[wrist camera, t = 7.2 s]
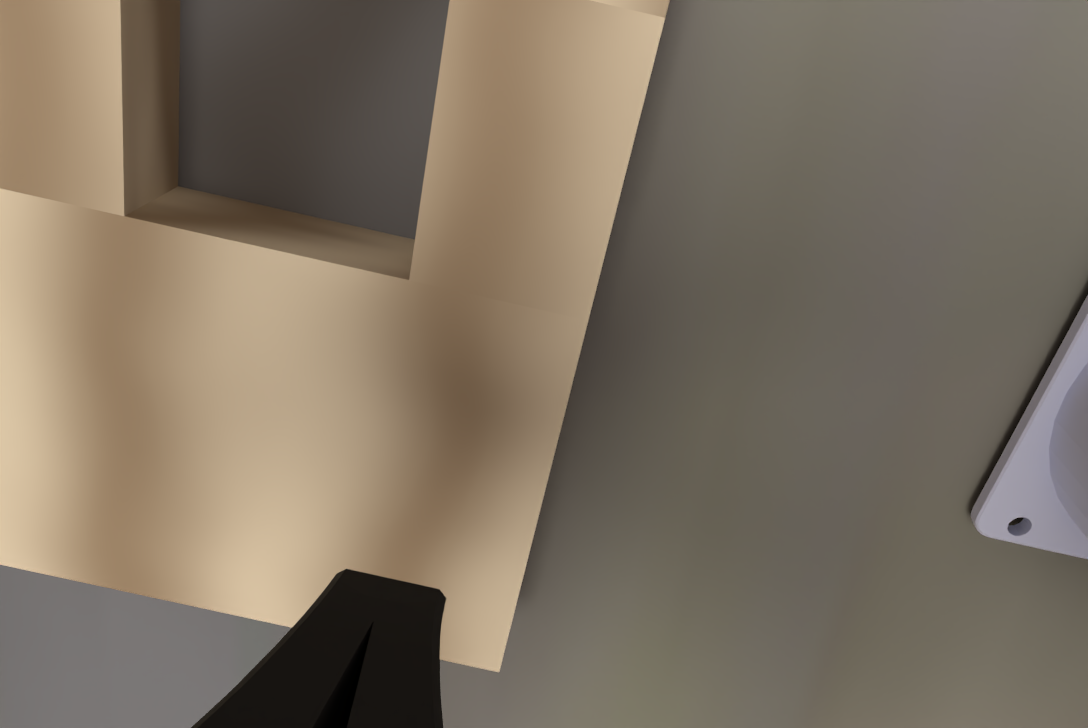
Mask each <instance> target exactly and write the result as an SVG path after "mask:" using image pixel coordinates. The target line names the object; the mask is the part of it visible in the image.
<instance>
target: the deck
mask: <svg viewBox="0 0 1088 728" xmlns="http://www.w3.org/2000/svg"><path fill="white" fill-rule="evenodd" d="M669 1H670V0H0V565H5V566H10V567H14V568H19V569H23V570H28V571H33V572H37V573H42V574H47V575H51V576H56V577H61V578H65V579H70V580H74V581H79V582H84V583H88V584H93V585H98V586H102V587H107V588H111V589H116V590H121V591H125V592H130V593H135V594H139V595H144V596H148V597H153V598H158V599H162V600H167V601H172V602H176V603H181V604H185V605H190V606H195V607H199V608H204V609H209V610H213V611H218V612H222V613H227V614H232V615H236V616H241V617H246V618H250V619H255V620H259V621H264V622H269V623H273V624H278V625H283V626H287V627H293V626H294V625H295V624H296V623H297V622H298V621H299V619H300V618H301V617H302V616H303V615H304V614H305V613H306V611H307V610H308V609H309V608H310V607H311V606H312V604H313V603H314V602H315V601H316V599H317V598H318V597H319V596H320V595H321V593H322V592H323V591H324V590H325V588H326V587H327V586H328V584H329V583H330V582H331V580H332V579H333V578H334V576H335V575H336V574H337V573H339V572H341V571H343V570H345V569H350V570H354V571H359V572H364V573H368V574H373V575H377V576H382V577H386V578H391V579H396V580H400V581H405V582H409V583H414V584H418V585H423V586H428V587H432V588H437V589H440V590H441V592H442V593H443V594H444V596H445V597H446V602H445V607H444V612H443V617H442V623H441V634H440V660H445V661H449V662H454V663H458V664H463V665H468V666H472V667H477V668H482V669H486V670H491V671H495V672H499V671H500V667H501V663H502V659H503V655H504V651H505V647H506V643H507V639H508V635H509V631H510V627H511V623H512V619H513V616H514V612H515V608H516V604H517V600H518V596H519V592H520V588H521V584H522V580H523V576H524V572H525V568H526V564H527V560H528V556H529V552H530V549H531V545H532V541H533V537H534V533H535V529H536V525H537V521H538V517H539V513H540V509H541V505H542V501H543V497H544V493H545V489H546V486H547V482H548V478H549V474H550V470H551V466H552V462H553V458H554V454H555V450H556V446H557V442H558V438H559V434H560V430H561V426H562V422H563V419H564V415H565V411H566V407H567V403H568V399H569V395H570V391H571V387H572V383H573V379H574V375H575V371H576V367H577V363H578V359H579V356H580V352H581V348H582V344H583V340H584V336H585V332H586V328H587V324H588V320H589V316H590V312H591V308H592V304H593V300H594V296H595V293H596V289H597V285H598V281H599V277H600V273H601V269H602V265H603V261H604V257H605V253H606V249H607V245H608V241H609V237H610V233H611V229H612V226H613V222H614V218H615V214H616V210H617V206H618V202H619V198H620V194H621V190H622V186H623V182H624V178H625V174H626V170H627V166H628V163H629V159H630V155H631V151H632V147H633V143H634V139H635V135H636V131H637V127H638V123H639V119H640V115H641V111H642V107H643V103H644V100H645V96H646V92H647V88H648V84H649V80H650V76H651V72H652V68H653V64H654V60H655V56H656V52H657V48H658V44H659V40H660V36H661V33H662V29H663V25H664V21H665V17H666V13H667V9H668V5H669Z"/></svg>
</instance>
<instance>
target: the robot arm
mask: <svg viewBox="0 0 1088 728" xmlns="http://www.w3.org/2000/svg"><path fill="white" fill-rule="evenodd" d="M1018 517H1024V519H1023V520H1022V521H1021V522H1020V523H1018V524H1016V525H1008V524H1009V523H1010V522H1011V521H1012V520H1013V519H1016V518H1018ZM971 519H972V522H973V524H974V526H975V527H976V529H977V530H978V531H979V532H980V534H981V535H984V536H986V537H989V538H993V539H998V540H1002V541H1007V542H1011V543H1016V544H1020V545H1025V546H1029V547H1034V548H1038V549H1043V550H1047V551H1052V552H1056V553H1061V554H1065V555H1070V556H1074V557H1079V558H1083V559H1088V295H1087V297H1086V299H1085V301H1084V303H1083V305H1082V306H1081V308H1080V310H1079V312H1078V314H1077V316H1076V318H1075V319H1074V321H1073V323H1072V325H1071V327H1070V329H1069V331H1068V332H1067V334H1066V336H1065V338H1064V340H1063V342H1062V343H1061V345H1060V347H1059V349H1058V351H1057V353H1056V355H1055V356H1054V358H1053V360H1052V362H1051V364H1050V366H1049V368H1048V369H1047V371H1046V373H1045V375H1044V377H1043V379H1042V381H1041V382H1040V384H1039V386H1038V388H1037V390H1036V392H1035V393H1034V395H1033V397H1032V399H1031V401H1030V403H1029V405H1028V406H1027V408H1026V410H1025V412H1024V414H1023V416H1022V418H1021V419H1020V421H1019V423H1018V425H1017V427H1016V429H1015V431H1014V432H1013V434H1012V436H1011V438H1010V440H1009V442H1008V443H1007V445H1006V447H1005V449H1004V451H1003V453H1002V455H1001V456H1000V458H999V460H998V462H997V464H996V466H995V468H994V469H993V471H992V473H991V475H990V477H989V479H988V481H987V482H986V484H985V486H984V488H983V490H982V492H981V493H980V495H979V497H978V499H977V501H976V503H975V505H974V506H973V508H972V512H971ZM445 602H446V597H445V596H444V594H443V593H442V592H441V590H440V589H437V588H432V587H428V586H423V585H418V584H414V583H409V582H405V581H400V580H396V579H391V578H386V577H382V576H377V575H373V574H368V573H364V572H359V571H354V570H350V569H345V570H343V571H341V572H339V573H337V574H336V575H335V576H334V578H333V579H332V580H331V582H330V583H329V584H328V586H327V587H326V588H325V590H324V591H323V592H322V593H321V595H320V596H319V597H318V598H317V599H316V601H315V602H314V603H313V604H312V606H311V607H310V608H309V609H308V610H307V611H306V613H305V614H304V615H303V616H302V617H301V618H300V619H299V621H298V622H297V623H296V624H295V625H294V626H293V627H292V628H291V629H290V631H289V632H288V633H287V634H286V635H285V636H284V637H283V638H282V639H281V640H280V642H279V643H278V644H277V645H276V646H275V647H274V648H273V649H272V650H271V651H270V652H269V653H268V654H267V655H266V656H265V657H264V658H263V659H262V660H261V661H260V662H259V663H258V664H257V665H256V666H255V667H254V668H253V669H252V670H251V671H250V672H249V673H248V674H247V675H246V676H245V677H244V678H243V679H242V681H241V682H240V683H239V684H238V685H237V686H236V687H234V688H233V689H232V690H231V691H230V692H229V693H228V694H227V695H226V696H225V697H224V698H223V699H222V700H221V701H220V702H219V703H218V704H216V705H215V706H214V707H213V708H212V709H211V710H210V711H209V712H208V713H207V714H206V715H204V716H203V717H202V718H201V719H200V720H199V721H198V722H197V723H196V724H195V725H194V726H192V727H191V728H443V720H442V709H441V695H440V634H441V623H442V617H443V612H444V607H445Z"/></svg>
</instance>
